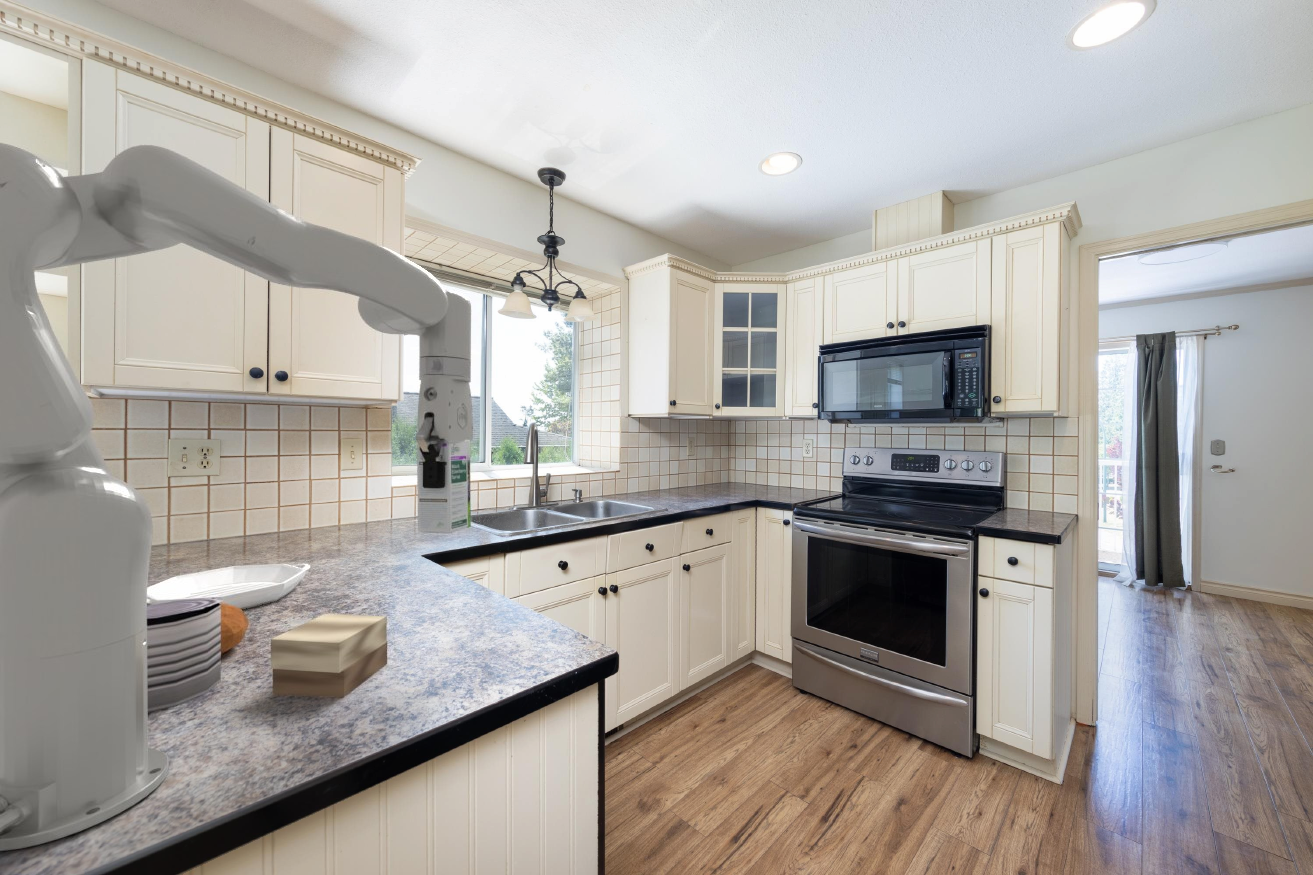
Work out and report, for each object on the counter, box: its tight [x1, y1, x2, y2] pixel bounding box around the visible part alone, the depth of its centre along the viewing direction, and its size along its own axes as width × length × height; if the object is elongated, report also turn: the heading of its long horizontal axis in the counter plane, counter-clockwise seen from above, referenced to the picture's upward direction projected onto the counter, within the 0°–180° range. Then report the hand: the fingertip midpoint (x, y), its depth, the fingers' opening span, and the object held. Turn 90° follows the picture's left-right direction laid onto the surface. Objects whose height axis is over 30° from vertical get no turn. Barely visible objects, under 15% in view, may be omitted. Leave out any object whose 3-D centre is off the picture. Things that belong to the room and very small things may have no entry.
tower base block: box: [272, 641, 388, 698], centre depth 74 cm, size 10×10×4 cm
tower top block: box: [270, 613, 388, 673], centre depth 74 cm, size 10×10×4 cm
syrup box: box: [416, 439, 472, 535], centre depth 81 cm, size 6×6×14 cm
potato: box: [219, 603, 249, 655], centre depth 82 cm, size 9×11×8 cm
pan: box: [147, 563, 311, 611], centre depth 109 cm, size 31×26×4 cm
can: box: [147, 598, 223, 713], centre depth 70 cm, size 11×11×12 cm
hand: (444, 484), depth 81 cm, fingers closed on syrup box, 6 cm apart
